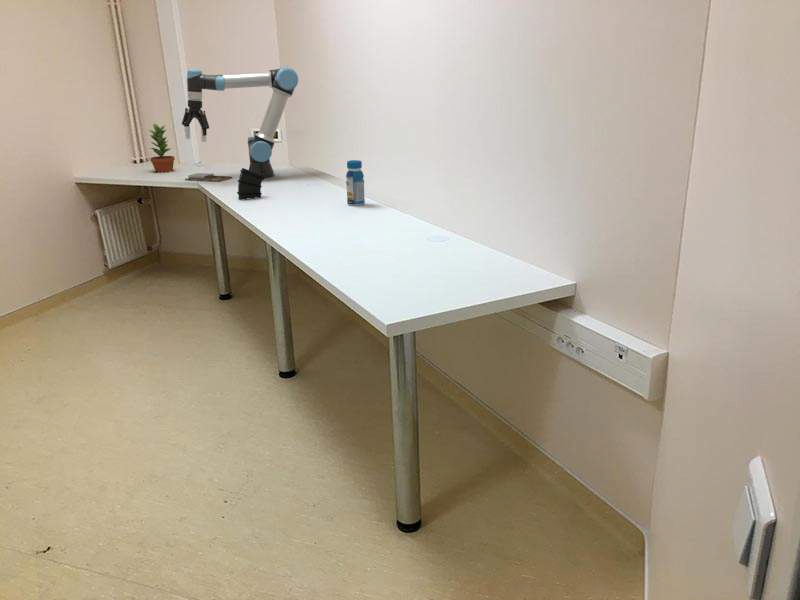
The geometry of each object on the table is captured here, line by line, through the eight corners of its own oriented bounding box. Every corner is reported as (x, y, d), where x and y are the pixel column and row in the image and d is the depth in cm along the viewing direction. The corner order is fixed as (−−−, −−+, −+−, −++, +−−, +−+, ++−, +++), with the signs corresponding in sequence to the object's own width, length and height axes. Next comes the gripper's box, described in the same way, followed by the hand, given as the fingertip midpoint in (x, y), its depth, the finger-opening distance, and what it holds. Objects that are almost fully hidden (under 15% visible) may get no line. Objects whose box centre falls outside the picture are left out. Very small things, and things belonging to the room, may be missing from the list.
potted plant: (165, 174, 386) (157, 124, 376) (147, 172, 392) (139, 123, 382) (182, 170, 399) (175, 122, 388) (165, 169, 405) (157, 121, 394)
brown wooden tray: (232, 179, 362) (232, 176, 361) (219, 183, 350) (219, 180, 349) (199, 178, 369) (198, 174, 368) (185, 182, 357) (184, 178, 356)
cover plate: (214, 177, 363) (213, 173, 362) (204, 180, 355) (204, 176, 354) (198, 177, 366) (197, 172, 365) (188, 179, 358) (188, 175, 357)
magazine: (231, 196, 306) (241, 167, 304) (255, 204, 314) (265, 176, 313) (234, 197, 303) (243, 168, 302) (258, 205, 311) (268, 177, 310)
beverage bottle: (362, 206, 286) (361, 162, 279) (345, 206, 288) (342, 162, 281) (366, 202, 294) (365, 159, 287) (349, 202, 296) (347, 159, 288)
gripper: (174, 97, 339) (175, 137, 346) (204, 101, 327) (204, 143, 333) (186, 98, 345) (186, 137, 352) (215, 102, 332) (216, 142, 339)
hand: (195, 140), depth 343 cm, fingers open, 13 cm apart
